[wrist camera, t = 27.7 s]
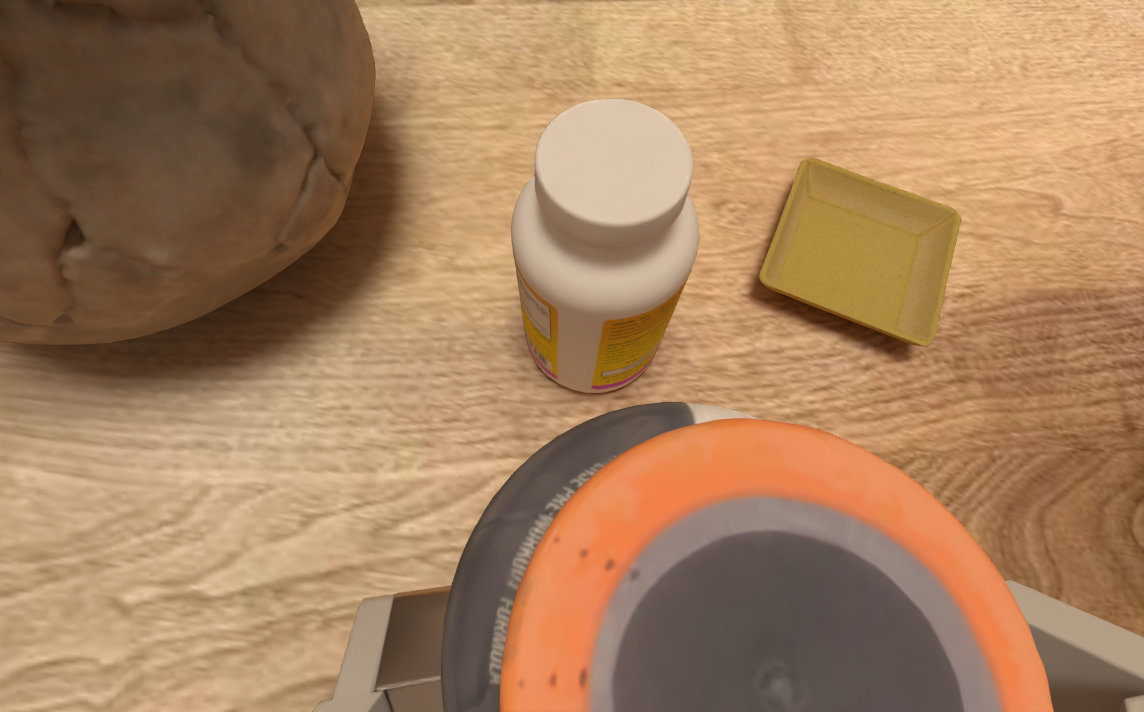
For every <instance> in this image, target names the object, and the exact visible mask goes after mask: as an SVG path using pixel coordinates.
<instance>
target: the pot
mask: <svg viewBox="0 0 1144 712" xmlns="http://www.w3.org/2000/svg"><path fill="white" fill-rule="evenodd" d="M374 88H375V62H374V58H373V53H372V47H371V43H370V39H369V35H368V33H367V30H366V28H365V26H364V23H363V20H362V17H361V15H360V11H359V9H358V7H357V5H356V3H355V0H0V341H5V342H15V343H29V344H99V343H109V342H117V341H122V340H128V339H132V338H137V337H142V336H146V335H150V334H153V333H157V332H160V331H164V330H167V329H170V328H173V327H176V326H179V325H181V324H184V323H187V322H189V321H192V320H194V319H197V318H199V317H201V316H203V315H205V314H208V313H210V312H212V311H214V310H216V309H217V308H219V307H221V306H223V305H225V304H227V303H229V302H230V301H232V300H234V299H236V298H238V297H239V296H241V295H243V294H245V293H247V292H248V291H250V290H252V289H254V288H255V287H257V286H259V285H260V284H262V283H264V282H265V281H267V280H269V279H270V278H272V277H273V276H275V275H276V274H278V273H279V272H281V271H282V270H284V269H285V268H286V267H288V266H289V265H291V264H292V263H293V262H295V261H296V260H298V259H299V258H300V257H301V256H303V255H304V254H305V253H307V252H308V251H309V250H310V249H312V248H313V247H314V246H315V245H316V244H317V243H318V242H319V241H320V240H321V239H322V238H323V237H324V236H325V235H326V234H327V233H328V231H329V230H331V229H332V227H333V226H334V225H335V224H336V222H337V221H338V219H339V217H340V215H341V213H342V211H343V208H344V205H345V202H346V200H347V197H348V194H349V191H350V187H351V183H352V179H353V174H354V168H355V166H356V163H357V161H358V159H359V157H360V154H361V151H362V149H363V146H364V142H365V139H366V134H367V130H368V126H369V122H370V117H371V112H372V107H373V98H374Z"/></svg>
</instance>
